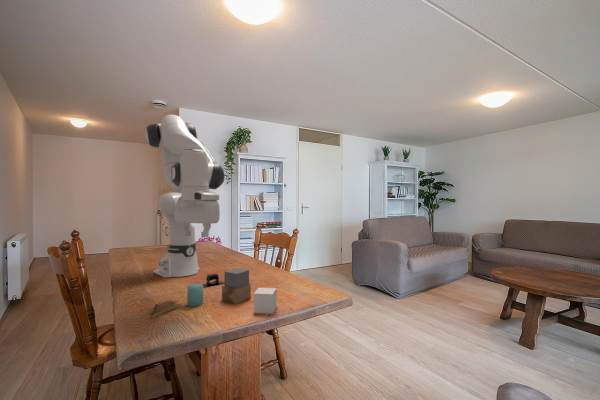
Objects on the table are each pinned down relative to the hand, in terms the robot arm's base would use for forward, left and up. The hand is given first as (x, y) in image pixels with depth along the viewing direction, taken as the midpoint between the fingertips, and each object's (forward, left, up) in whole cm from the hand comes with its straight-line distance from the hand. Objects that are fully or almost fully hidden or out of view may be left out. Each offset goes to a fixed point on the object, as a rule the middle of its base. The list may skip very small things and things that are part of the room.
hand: (196, 236), depth 93 cm
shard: (-3, -8, -23) cm, 25 cm away
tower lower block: (+8, +11, -23) cm, 26 cm away
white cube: (+23, +9, -23) cm, 34 cm away
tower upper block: (+8, +11, -18) cm, 22 cm away
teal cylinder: (0, 0, -23) cm, 23 cm away
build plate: (-13, +18, -23) cm, 32 cm away
